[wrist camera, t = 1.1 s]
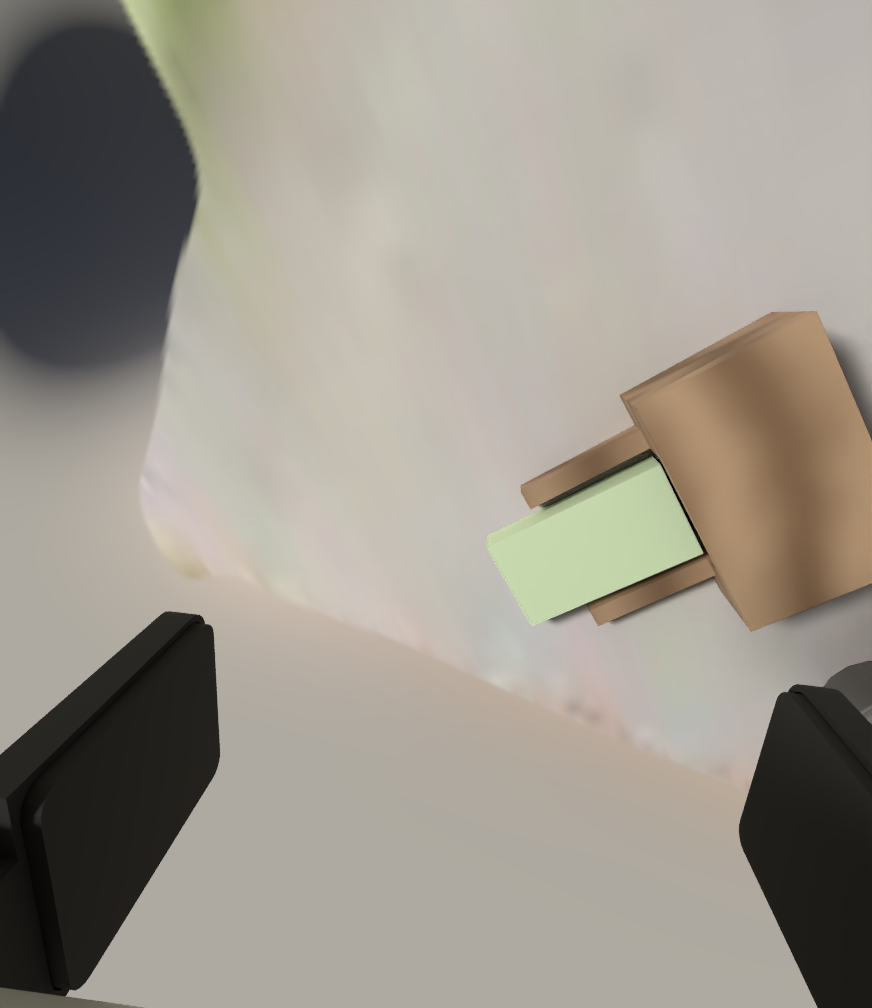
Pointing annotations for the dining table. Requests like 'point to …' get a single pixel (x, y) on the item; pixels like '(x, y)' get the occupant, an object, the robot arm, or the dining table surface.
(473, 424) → the dining table surface
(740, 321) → the dining table surface
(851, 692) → the candle holder
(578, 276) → the dining table surface
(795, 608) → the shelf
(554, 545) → the tile
